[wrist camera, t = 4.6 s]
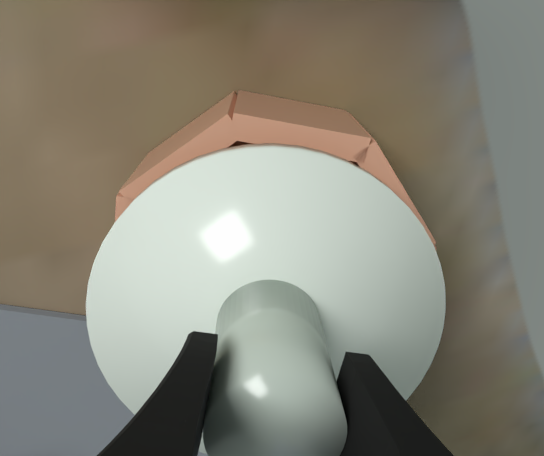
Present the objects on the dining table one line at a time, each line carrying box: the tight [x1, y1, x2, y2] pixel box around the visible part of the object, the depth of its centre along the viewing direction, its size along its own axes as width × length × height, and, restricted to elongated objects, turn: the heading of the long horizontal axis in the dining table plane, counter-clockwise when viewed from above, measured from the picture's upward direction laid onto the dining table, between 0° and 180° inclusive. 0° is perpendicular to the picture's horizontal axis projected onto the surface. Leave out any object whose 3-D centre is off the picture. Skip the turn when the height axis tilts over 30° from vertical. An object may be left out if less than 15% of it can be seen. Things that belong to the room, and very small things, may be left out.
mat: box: [0, 304, 208, 456], centre depth 24 cm, size 12×12×1 cm
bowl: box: [115, 90, 437, 250], centre depth 18 cm, size 11×11×4 cm
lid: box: [86, 143, 446, 456], centre depth 13 cm, size 11×11×5 cm
